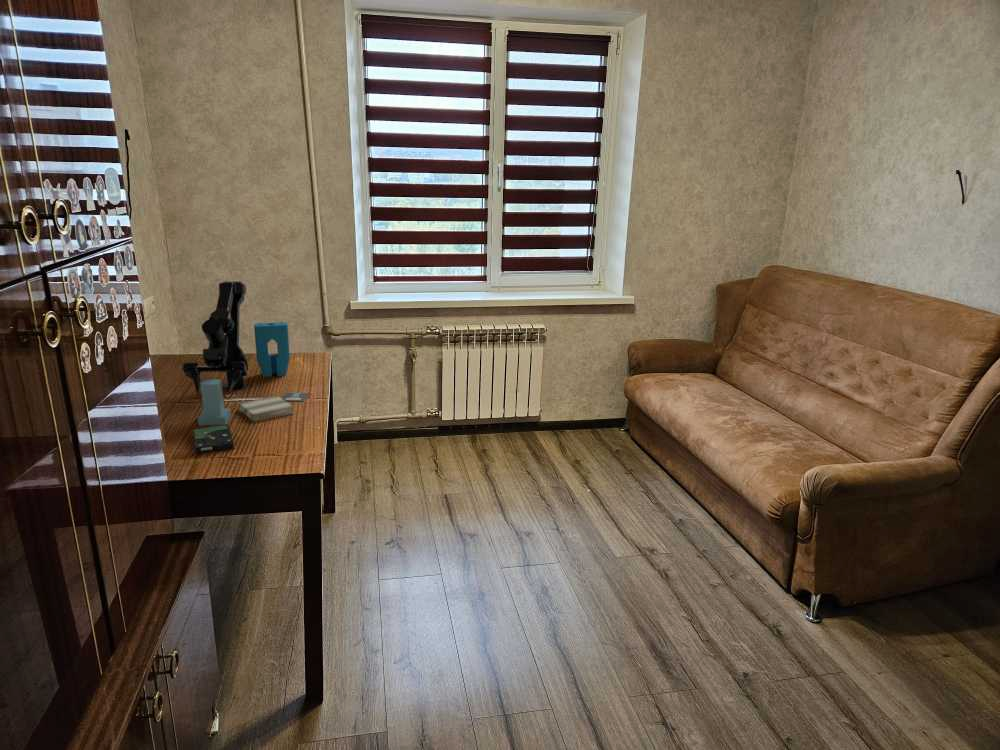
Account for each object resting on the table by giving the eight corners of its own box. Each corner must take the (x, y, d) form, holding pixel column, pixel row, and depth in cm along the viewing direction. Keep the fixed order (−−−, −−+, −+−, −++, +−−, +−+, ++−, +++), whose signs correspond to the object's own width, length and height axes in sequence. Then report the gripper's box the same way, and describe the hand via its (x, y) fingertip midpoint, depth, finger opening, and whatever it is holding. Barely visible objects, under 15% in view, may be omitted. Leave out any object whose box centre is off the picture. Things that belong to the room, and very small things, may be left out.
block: (290, 371, 262) (287, 322, 256) (290, 375, 257) (287, 325, 251) (258, 373, 258) (254, 323, 252) (258, 377, 253) (254, 326, 247)
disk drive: (235, 450, 192) (229, 431, 205) (234, 442, 191) (228, 423, 204) (196, 456, 188) (192, 436, 200) (195, 447, 187) (191, 428, 199)
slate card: (286, 393, 237) (286, 392, 237) (308, 394, 238) (308, 392, 238) (280, 401, 230) (280, 400, 230) (303, 401, 230) (303, 400, 230)
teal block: (204, 416, 215) (200, 378, 211) (230, 415, 216) (227, 377, 212) (198, 425, 207) (194, 386, 203) (225, 424, 209) (221, 385, 205)
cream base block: (240, 411, 221) (239, 403, 220) (277, 403, 229) (277, 395, 228) (254, 423, 212) (253, 414, 211) (293, 414, 220) (292, 406, 219)
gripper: (180, 337, 208) (174, 382, 201) (242, 337, 212) (239, 380, 205) (189, 355, 218) (184, 397, 211) (249, 354, 221) (245, 396, 214)
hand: (213, 392), depth 210 cm, fingers open, 9 cm apart
